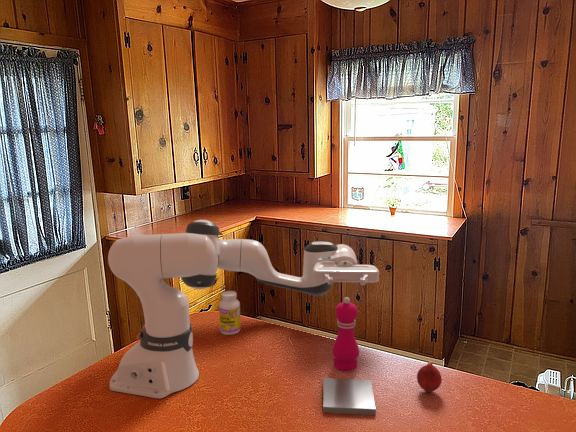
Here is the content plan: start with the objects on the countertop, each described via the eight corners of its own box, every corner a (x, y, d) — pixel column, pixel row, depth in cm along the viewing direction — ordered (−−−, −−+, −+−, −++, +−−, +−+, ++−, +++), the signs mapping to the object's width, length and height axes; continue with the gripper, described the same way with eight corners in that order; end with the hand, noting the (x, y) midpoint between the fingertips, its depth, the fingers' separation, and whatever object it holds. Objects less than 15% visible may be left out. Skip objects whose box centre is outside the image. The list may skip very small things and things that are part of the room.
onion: (441, 400, 111) (443, 369, 109) (417, 397, 112) (418, 367, 110) (439, 386, 116) (441, 357, 114) (415, 384, 117) (417, 355, 116)
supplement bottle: (216, 334, 145) (215, 296, 142) (224, 325, 151) (222, 288, 149) (236, 336, 144) (235, 298, 141) (243, 327, 150) (242, 290, 147)
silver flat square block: (323, 412, 106) (323, 406, 106) (323, 383, 118) (323, 378, 118) (375, 414, 105) (375, 409, 105) (370, 385, 117) (370, 379, 117)
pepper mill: (341, 375, 121) (343, 304, 117) (327, 363, 128) (327, 295, 124) (364, 368, 125) (365, 299, 121) (348, 356, 131) (350, 290, 127)
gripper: (376, 277, 148) (382, 293, 134) (313, 276, 149) (312, 292, 136) (377, 258, 147) (382, 272, 133) (313, 258, 148) (312, 271, 135)
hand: (346, 282), depth 135 cm, fingers open, 8 cm apart
